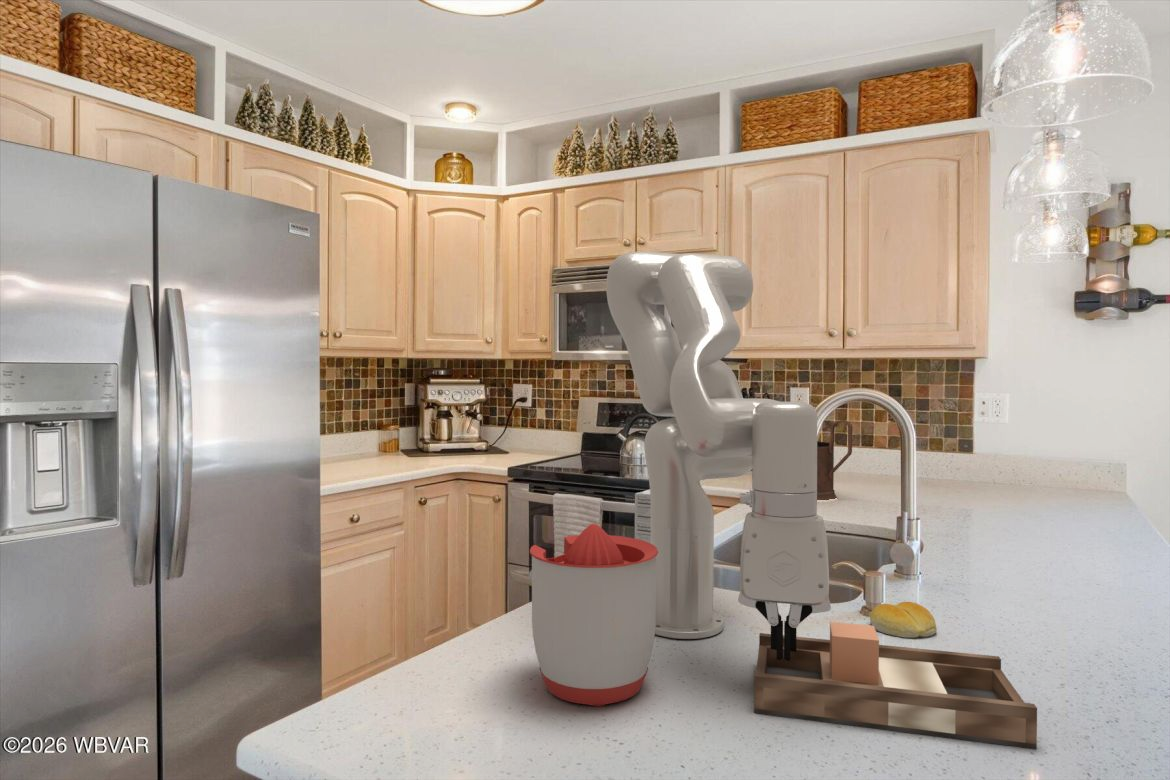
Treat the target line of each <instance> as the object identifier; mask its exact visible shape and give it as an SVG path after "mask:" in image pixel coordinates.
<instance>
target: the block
mask: <svg viewBox="0 0 1170 780" xmlns="http://www.w3.org/2000/svg"><path fill="white" fill-rule="evenodd" d="M829 640H830V668H831V676H832V679H835V680H844V681H853V682H862V683H871V684H879V645H880V641H879V637H878V634H877V630H876V629H875V627H874V626H872V625H871V624H868V625H867V624H859V623H857V624H856V623H848V622H847V623H846V622H836V621H829Z"/></svg>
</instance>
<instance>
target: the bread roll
mask: <svg viewBox="0 0 1170 780" xmlns="http://www.w3.org/2000/svg"><path fill="white" fill-rule="evenodd" d="M869 623H870V625H871V626H874V627H875V630H876V632H879V633H882V634H886V635H890V636H893V637H899V638H906V639H908V638H909V639H912V638H913V639H915V638H918V637H921V638H928V637H931V636H933V635H935V634H936V632H937V630H938V629H937V628H938V627H937V624H936V620H935V618H934V616H933V614H932V613H931V612H930V611H929V610H928V609H927V608H926V607H924V606H923V605H921V604H918V603H916V602H912V601H901V602H899V603H897V604H896V605H895V604H892V603H882V604H879V605H877V606H875V607H873V609H872V610H871V611H870V614H869Z"/></svg>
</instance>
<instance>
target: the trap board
mask: <svg viewBox="0 0 1170 780" xmlns="http://www.w3.org/2000/svg"><path fill="white" fill-rule="evenodd" d="M758 638H759V640H758V641H759V642H758V653H757V660H756V661H757V662H756V669H755V672H754V675H753V676H754V677H753V678H754V682H753V683H754V686H753V689H754V691H753V693H754V695H753V699H754V700H753V703H754V704H753V713H754V714H761V715H768V716H776V717H784V718H794V719H799V720H808V721H815V722H816V721H817V722H823V723H830V724H831V723H832V724H839V725H846V726H854V727H862V728H870V729H878V730H884V731H885V730H886V731H891V732H892V731H893V732H902V733H908V734H910V733H911V734H917V735H923V736H932V737H939V738H940V737H941V738H948V739H949V738H950V739H954V740H955V739H956V740H963V741H971V742H980V743H986V744H993V745H994V744H996V745H1000V746H1001V745H1003V746H1009V747H1010V746H1011V747H1017V748H1026V749H1033V750H1037V742H1038V734H1037V733H1038V707H1037V706H1036V704H1034V703H1029V702H1025V701H1024V700H1023V698H1022V696H1020V694H1019V693H1018V691H1017V690H1016V689H1015V687H1014V686H1013V684H1012V682H1011V681H1010V680H1009V679H1008V677H1007V676H1006V674H1005V673H1004V672H1003V670H1002V659H1001V658H1000V656H997V655H987V654H980V653H979V654H977V653H967V652H957V651H946V650H938V649H937V650H936V649H927V648H926V649H925V648H916V647H905V646H898V645H883V644H879V684H871V683H862V682H853V681H844V680H835V679H832V676H831V668H830V639H824V638H815V637H804V636H796V652H793V651H790V661H787V660H786V659H784V634H783V659H781V660H777V650H774V649H771V633H763V632H760V633H759V637H758Z"/></svg>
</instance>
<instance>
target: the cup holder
mask: <svg viewBox="0 0 1170 780" xmlns="http://www.w3.org/2000/svg"><path fill="white" fill-rule="evenodd" d="M839 423H840V424H841V423H844V424H845V425H847V453H846V454H845V455H844V456H843V457H842V459H841V460H840V461H839V462H838V463H837V464H836V465H834V463H835V462H834V461H835V455H834V453H835V446H834V444H835V437H836V436H835V435H836V434H835V428H836V426H837V425H838V424H839ZM829 431H830V433H829V435H830V436H829V437H830V438H829V440H830V441H829V442H828V441H827V442H826V441H818V440H817V500H829V499H835V498H837V499H838V497H837V495H836V493H835V489H834V485H835V484H834V481H835V480H834V479H835V478H834V476H835V475H834V473H835V472H836V471H837V470H838V469H839V468H840V467H841V466H842V465H843V464H844V463H845V461H846V460H847V459H848V458H849V457H851V455H852V453H853V425H852V423H851V422H850V421H849V420H847V419H840V420H836V421H833V422H832V423H831V425H830V429H829Z"/></svg>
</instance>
